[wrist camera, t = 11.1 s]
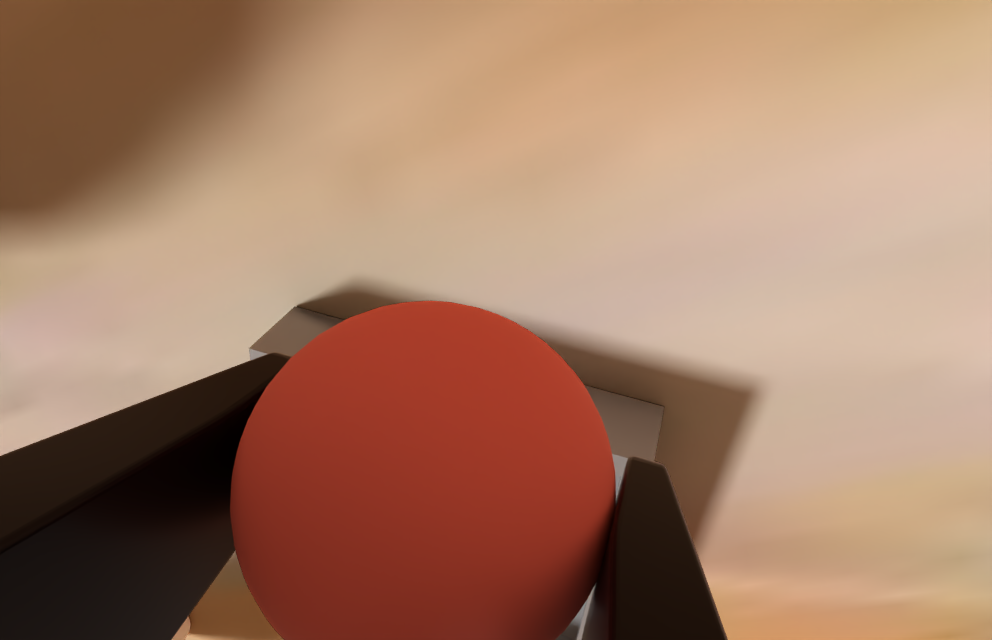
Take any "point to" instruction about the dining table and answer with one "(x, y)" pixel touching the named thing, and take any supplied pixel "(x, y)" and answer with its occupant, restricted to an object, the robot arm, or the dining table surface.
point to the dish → (622, 416)
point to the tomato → (423, 483)
